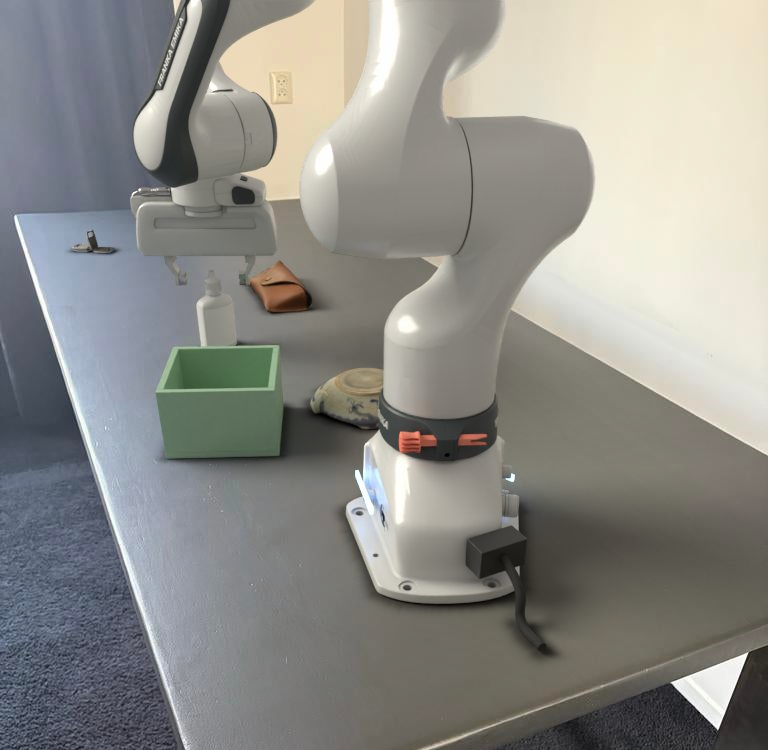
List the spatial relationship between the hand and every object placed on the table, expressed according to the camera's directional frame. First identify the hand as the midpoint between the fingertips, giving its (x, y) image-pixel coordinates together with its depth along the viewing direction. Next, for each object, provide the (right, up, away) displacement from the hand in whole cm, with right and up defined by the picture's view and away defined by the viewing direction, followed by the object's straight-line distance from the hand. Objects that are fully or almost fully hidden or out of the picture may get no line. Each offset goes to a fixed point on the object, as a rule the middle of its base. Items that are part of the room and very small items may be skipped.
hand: (213, 284), depth 119 cm
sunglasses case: (+6, +5, +26) cm, 27 cm away
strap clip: (-36, +21, +48) cm, 63 cm away
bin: (+6, -24, -18) cm, 30 cm away
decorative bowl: (+23, -20, -11) cm, 32 cm away
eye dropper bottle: (0, -9, +5) cm, 10 cm away
